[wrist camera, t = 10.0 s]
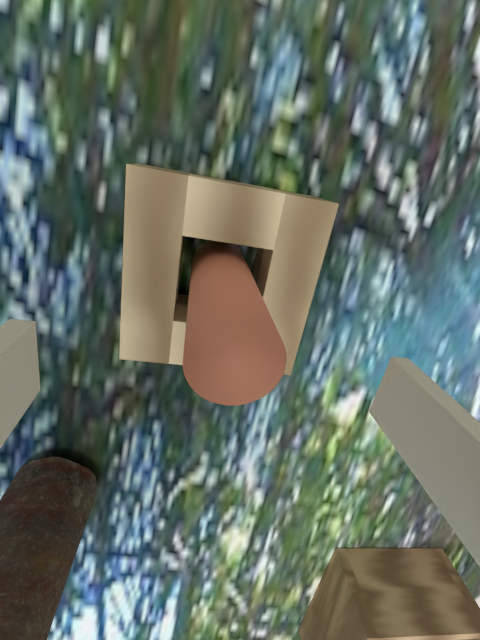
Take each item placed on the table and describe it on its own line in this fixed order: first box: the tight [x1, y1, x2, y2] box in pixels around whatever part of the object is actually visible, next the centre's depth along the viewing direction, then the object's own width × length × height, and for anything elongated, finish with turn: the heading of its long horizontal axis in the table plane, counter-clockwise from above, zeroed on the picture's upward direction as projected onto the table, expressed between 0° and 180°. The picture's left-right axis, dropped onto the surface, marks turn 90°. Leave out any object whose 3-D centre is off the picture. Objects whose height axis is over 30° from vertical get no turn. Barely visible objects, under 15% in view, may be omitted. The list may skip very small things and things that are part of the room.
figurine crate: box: [299, 548, 480, 640], centre depth 44 cm, size 15×19×9 cm
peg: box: [183, 240, 287, 406], centre depth 19 cm, size 4×4×14 cm
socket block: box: [119, 164, 339, 375], centre depth 23 cm, size 12×12×5 cm
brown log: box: [0, 457, 97, 640], centre depth 24 cm, size 8×7×20 cm
